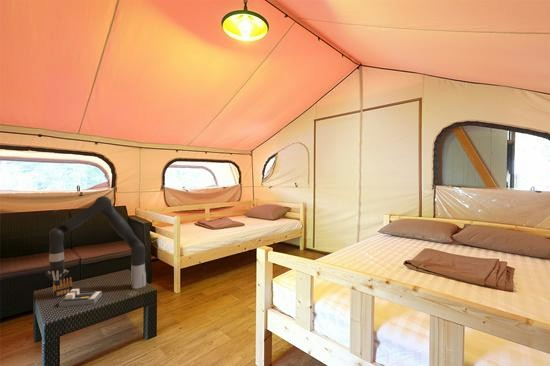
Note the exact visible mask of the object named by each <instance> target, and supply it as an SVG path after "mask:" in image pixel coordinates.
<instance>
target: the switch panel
mask: <svg viewBox="0 0 550 366" xmlns="http://www.w3.org/2000/svg"><path fill="white" fill-rule="evenodd" d="M102 294H103V291H102V290H96V289H94V290H82V291H81V290H79V294H78V295H75V298H74V299H66V300H65V296H63V298H62V299H60V301H58V307H59V308H61V307H62V308H64V307H72V306H73V307H74V306H82V305H92V304H93V305H94V304H96V302H97V301H98V300H99V299H100V298H101V297H102Z"/></svg>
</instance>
